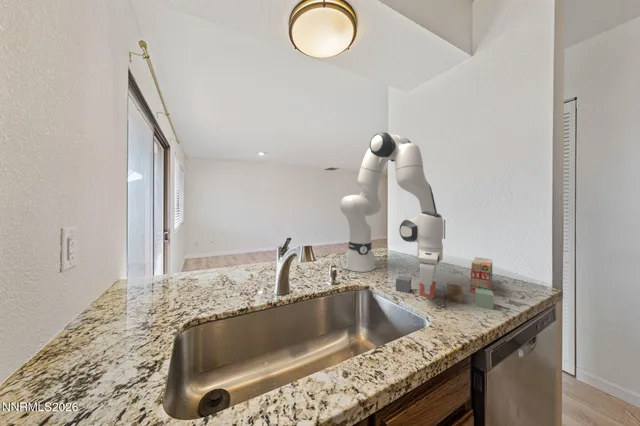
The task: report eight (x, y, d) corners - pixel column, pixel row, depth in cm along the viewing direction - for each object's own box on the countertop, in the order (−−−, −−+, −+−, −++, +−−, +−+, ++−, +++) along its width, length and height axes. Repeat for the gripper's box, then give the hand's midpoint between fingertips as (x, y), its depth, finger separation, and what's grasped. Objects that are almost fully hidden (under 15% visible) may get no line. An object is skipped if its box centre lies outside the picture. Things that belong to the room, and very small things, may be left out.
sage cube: (475, 306, 83) (476, 292, 82) (474, 301, 87) (475, 288, 87) (493, 310, 80) (493, 295, 80) (491, 304, 84) (491, 290, 84)
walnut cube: (446, 300, 87) (446, 287, 87) (446, 296, 91) (447, 283, 91) (462, 304, 85) (462, 290, 84) (461, 299, 89) (462, 285, 89)
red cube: (419, 295, 91) (420, 282, 91) (421, 291, 96) (421, 279, 95) (434, 298, 89) (434, 285, 89) (435, 294, 93) (435, 281, 93)
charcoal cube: (395, 291, 96) (396, 278, 96) (398, 287, 100) (398, 275, 100) (408, 293, 93) (409, 281, 93) (410, 289, 98) (411, 277, 97)
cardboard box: (475, 279, 113) (477, 253, 112) (492, 282, 109) (493, 255, 108) (470, 292, 96) (471, 262, 95) (489, 296, 92) (490, 265, 91)
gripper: (423, 248, 102) (422, 280, 103) (417, 258, 84) (416, 296, 85) (440, 250, 99) (439, 283, 100) (437, 260, 81) (435, 300, 82)
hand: (428, 289), depth 92 cm, fingers open, 8 cm apart
